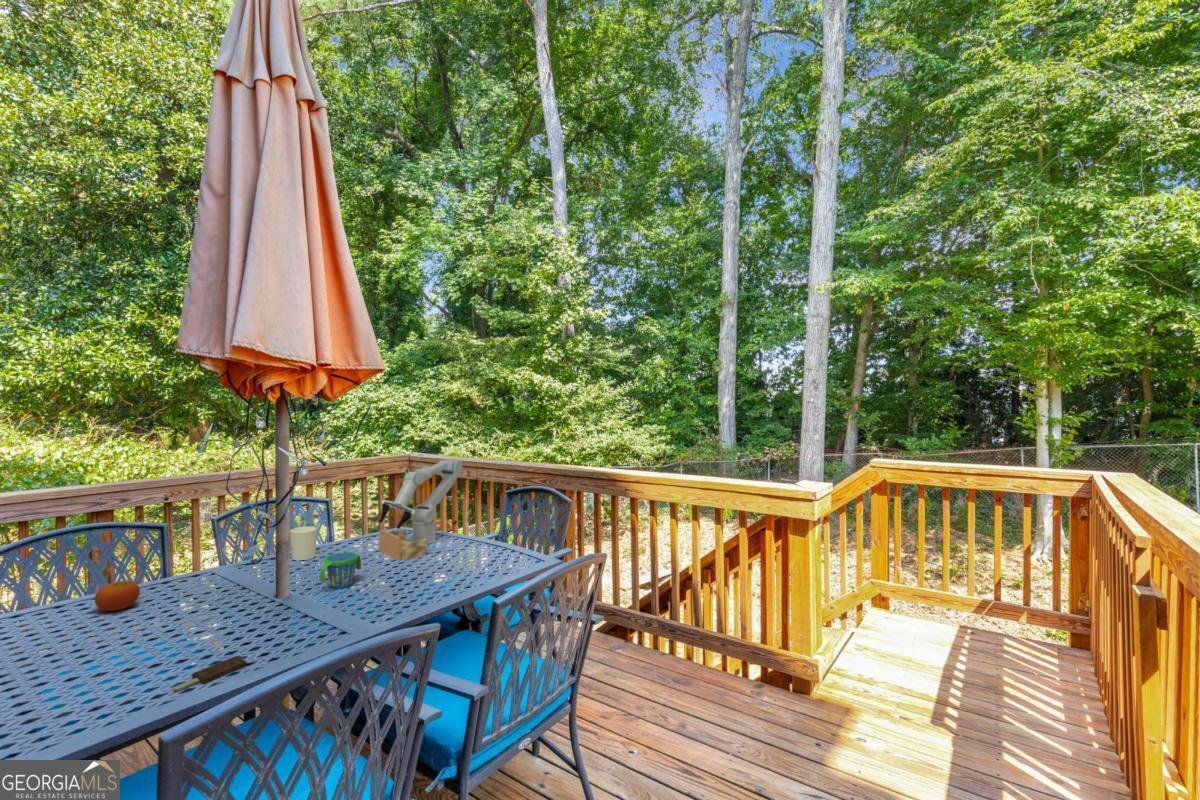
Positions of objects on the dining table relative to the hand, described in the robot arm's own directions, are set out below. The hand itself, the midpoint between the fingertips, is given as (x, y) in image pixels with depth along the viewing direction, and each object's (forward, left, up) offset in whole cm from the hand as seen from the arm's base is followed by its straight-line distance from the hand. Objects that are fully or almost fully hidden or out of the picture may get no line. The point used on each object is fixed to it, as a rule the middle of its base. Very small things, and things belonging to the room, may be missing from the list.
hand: (389, 525), depth 221 cm
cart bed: (-6, +2, -12) cm, 14 cm away
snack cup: (+27, +23, -13) cm, 38 cm away
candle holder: (+27, -19, -13) cm, 35 cm away
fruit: (+84, -4, -13) cm, 85 cm away
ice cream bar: (+71, +64, -13) cm, 97 cm away
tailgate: (+1, +2, -12) cm, 12 cm away
